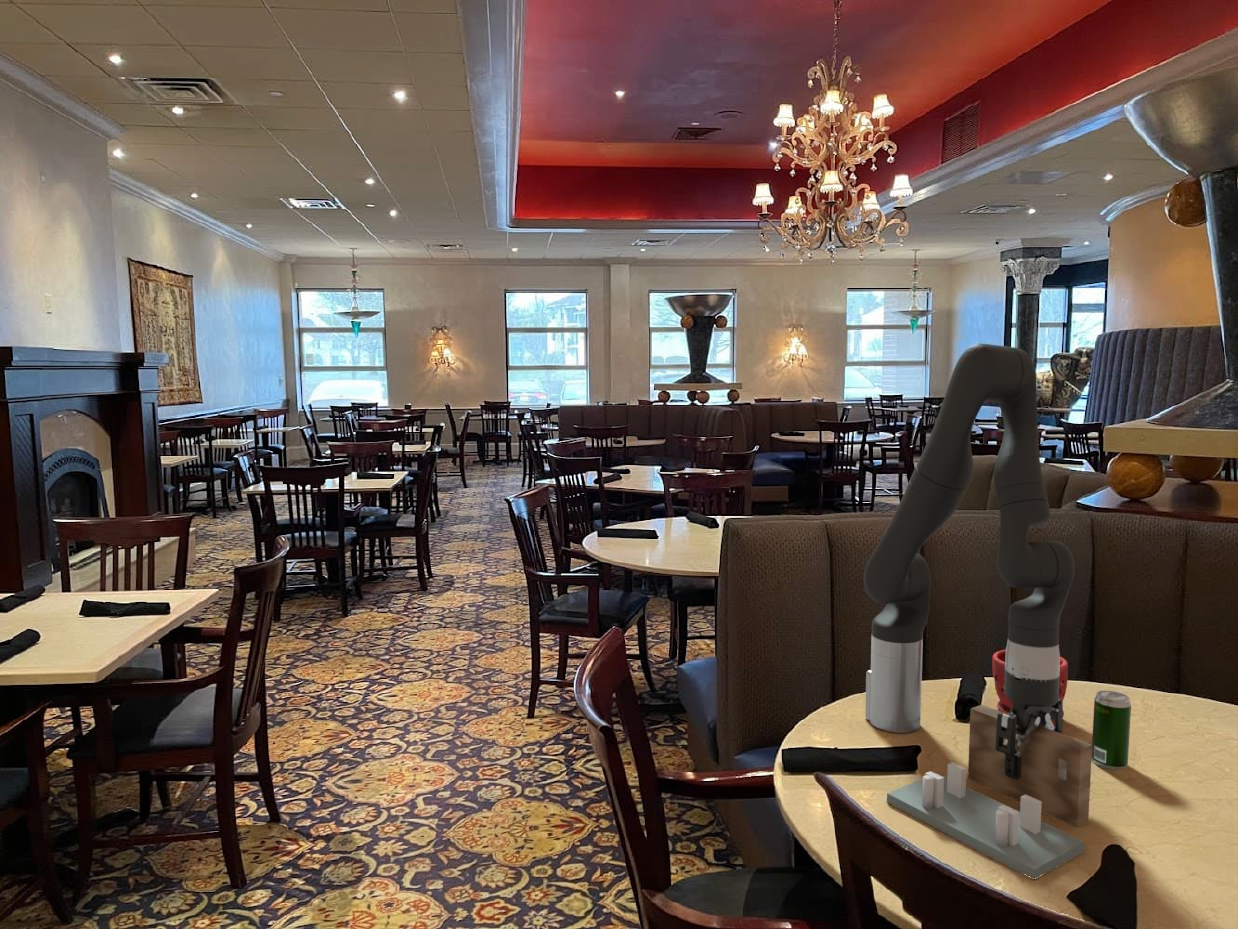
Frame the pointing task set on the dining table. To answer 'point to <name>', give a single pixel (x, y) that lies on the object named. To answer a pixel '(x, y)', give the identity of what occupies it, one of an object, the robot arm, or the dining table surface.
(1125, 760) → the beer can
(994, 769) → the wooden board
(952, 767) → the pegged base plate
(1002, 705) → the plant pot
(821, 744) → the dining table surface
